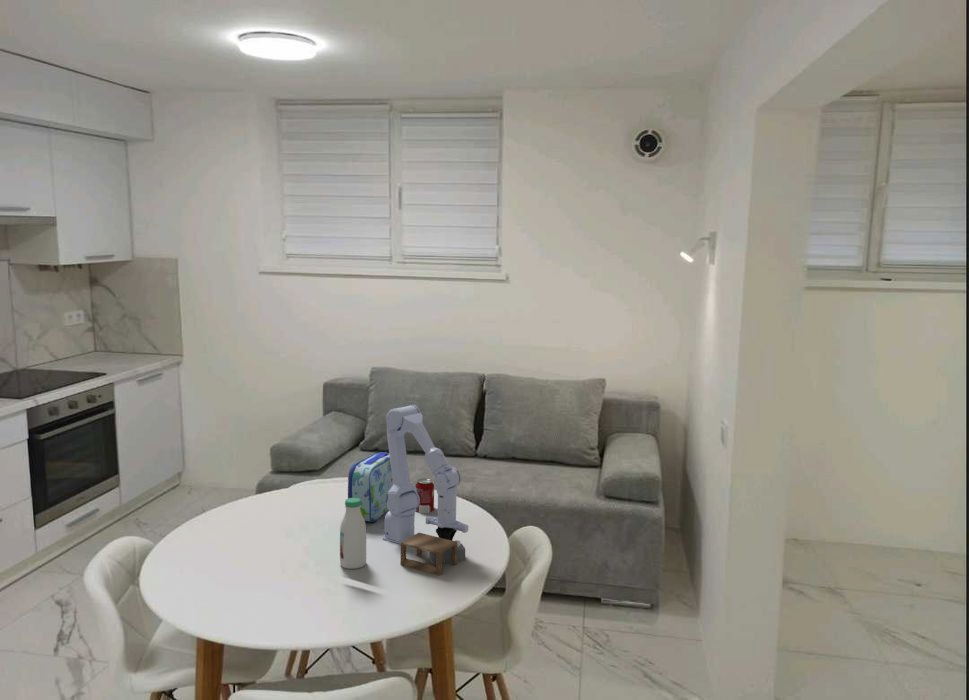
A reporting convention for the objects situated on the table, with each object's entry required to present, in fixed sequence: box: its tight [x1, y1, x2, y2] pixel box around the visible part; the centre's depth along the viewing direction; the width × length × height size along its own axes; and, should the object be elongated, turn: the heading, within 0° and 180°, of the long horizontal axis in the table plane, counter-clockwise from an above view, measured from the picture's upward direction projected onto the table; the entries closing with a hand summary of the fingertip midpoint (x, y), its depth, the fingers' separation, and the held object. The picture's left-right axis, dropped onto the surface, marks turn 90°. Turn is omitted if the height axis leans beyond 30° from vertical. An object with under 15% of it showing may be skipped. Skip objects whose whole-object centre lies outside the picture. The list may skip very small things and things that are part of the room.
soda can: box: [414, 478, 435, 514], centre depth 267 cm, size 7×7×12 cm
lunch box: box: [347, 451, 393, 523], centre depth 265 cm, size 26×11×21 cm, turn 164°
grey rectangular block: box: [429, 539, 466, 565], centre depth 227 cm, size 4×10×6 cm, turn 107°
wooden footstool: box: [400, 532, 458, 577], centre depth 223 cm, size 14×10×7 cm
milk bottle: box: [339, 497, 367, 570], centre depth 221 cm, size 8×8×20 cm
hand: (446, 549), depth 231 cm, fingers closed
